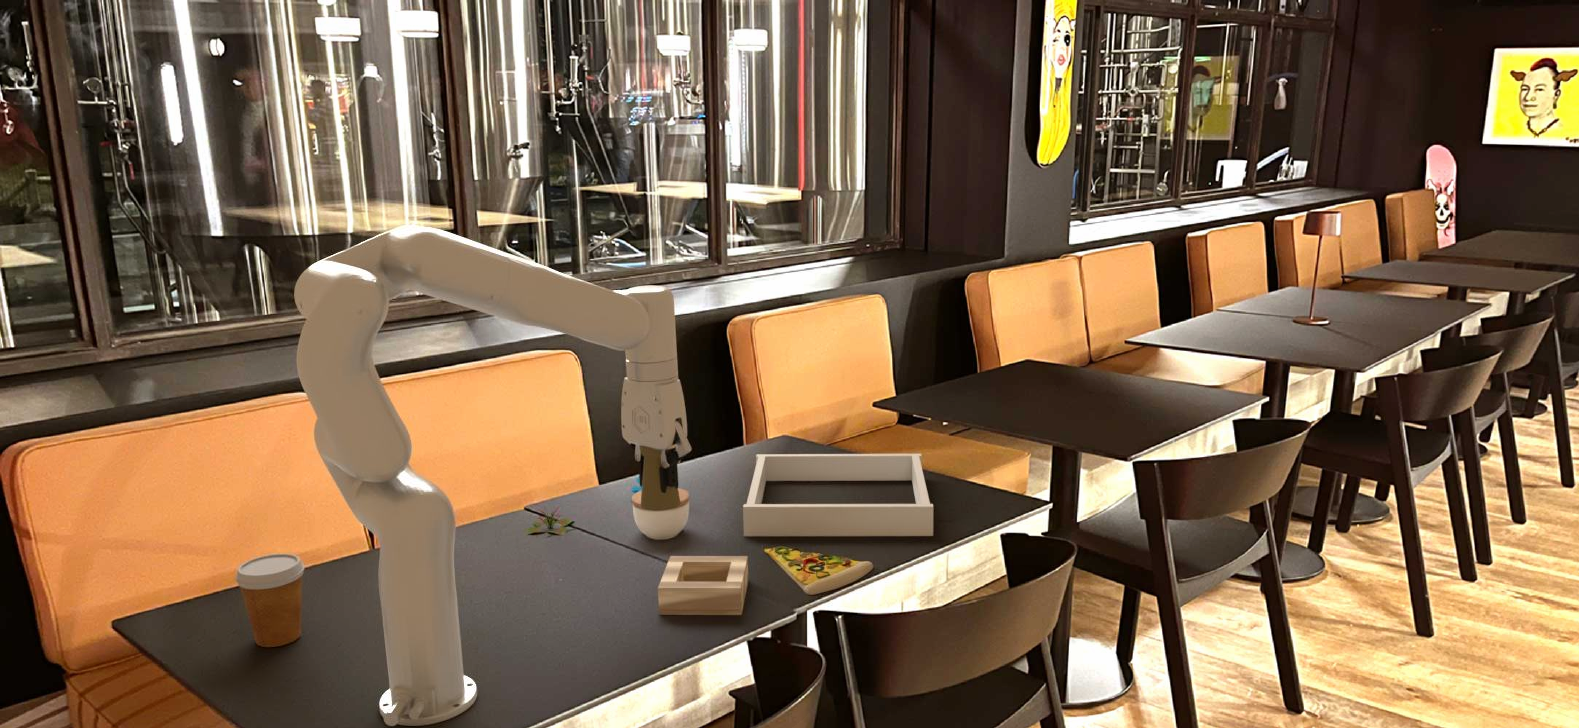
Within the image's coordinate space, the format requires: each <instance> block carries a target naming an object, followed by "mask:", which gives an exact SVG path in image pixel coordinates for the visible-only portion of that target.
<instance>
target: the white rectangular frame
mask: <svg viewBox="0 0 1579 728" xmlns="http://www.w3.org/2000/svg"><path fill="white" fill-rule="evenodd" d="M755 455H756V456H755V468H754V473H753V477H752V481H751V484H750V488H749V492H748V495H747V501H746V503H744V504H743V506H742V517H743V519H742V520H743V537H933V536H934V504H933V503H931V501H930V497H929V493H928V489H927V484H926V480H925V476H924V471H923V467H922V454H921V453H815V454H814V453H798V454H797V453H793V454H792V453H787V454H785V453H783V454H782V453H781V454H777V453H775V454H769V453H767V454H766V453H765V454H761V453H760V454H759V453H758V454H755ZM785 481H787V482H789V481H791V482H794V481H795V482H800V481H801V482H808V481H810V482H816V481H817V482H818V481H819V482H820V481H821V482H822V481H823V482H826V481H827V482H829V481H834V482H835V481H837V482H838V481H843V482H844V481H845V482H846V481H847V482H849V481H854V482H855V481H862V482H863V481H864V482H865V481H911V483H912V487H913V494H914V499H915V503H774V504H773V503H762V502H763V498H764V492H765V487H766V483H767V482H785Z"/></svg>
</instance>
